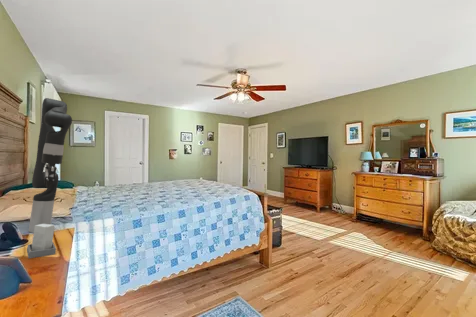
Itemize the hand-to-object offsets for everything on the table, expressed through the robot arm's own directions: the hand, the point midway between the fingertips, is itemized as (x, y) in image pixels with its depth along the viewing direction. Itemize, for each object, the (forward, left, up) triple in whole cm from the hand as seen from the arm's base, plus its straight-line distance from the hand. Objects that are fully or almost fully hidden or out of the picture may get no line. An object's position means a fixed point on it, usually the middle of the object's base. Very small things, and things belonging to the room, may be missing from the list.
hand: (47, 186), depth 108 cm
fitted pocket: (+8, 0, -28) cm, 29 cm away
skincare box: (+8, 0, -29) cm, 30 cm away
